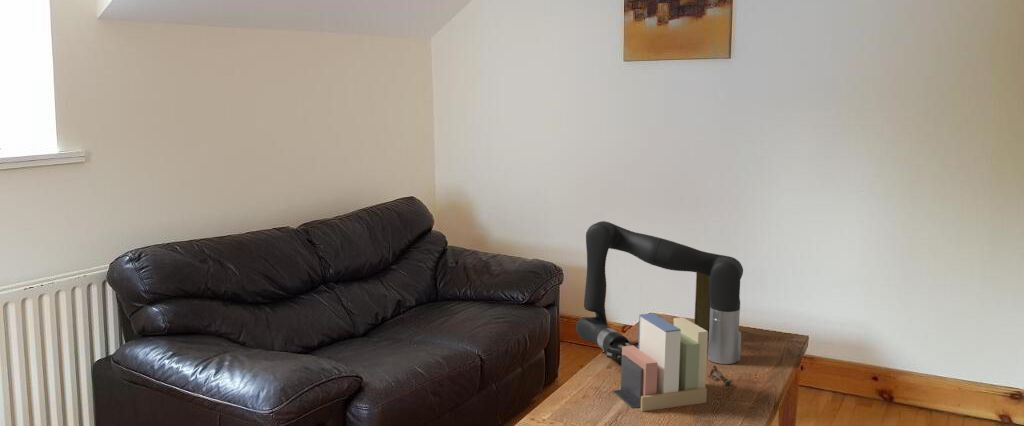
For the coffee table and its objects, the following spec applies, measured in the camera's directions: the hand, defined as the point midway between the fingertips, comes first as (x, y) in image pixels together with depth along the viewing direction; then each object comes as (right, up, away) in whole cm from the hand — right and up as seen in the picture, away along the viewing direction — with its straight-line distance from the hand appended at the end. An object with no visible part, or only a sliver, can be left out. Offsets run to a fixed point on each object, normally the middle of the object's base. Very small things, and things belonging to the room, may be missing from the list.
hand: (637, 360), depth 257 cm
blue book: (+4, -8, -11) cm, 14 cm away
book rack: (+5, -8, -11) cm, 15 cm away
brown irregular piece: (+24, -7, -1) cm, 25 cm away
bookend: (-5, -8, -14) cm, 17 cm away
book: (+29, +2, +45) cm, 54 cm away
